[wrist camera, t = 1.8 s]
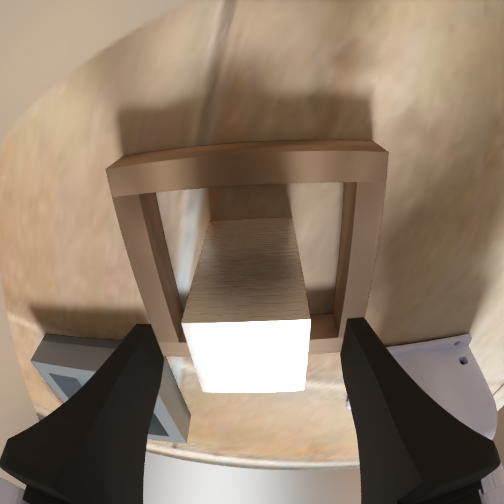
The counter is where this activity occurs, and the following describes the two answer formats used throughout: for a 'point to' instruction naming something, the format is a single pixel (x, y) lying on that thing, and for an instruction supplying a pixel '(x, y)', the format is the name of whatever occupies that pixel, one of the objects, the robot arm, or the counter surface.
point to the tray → (89, 361)
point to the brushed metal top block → (249, 308)
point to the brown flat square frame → (251, 173)
